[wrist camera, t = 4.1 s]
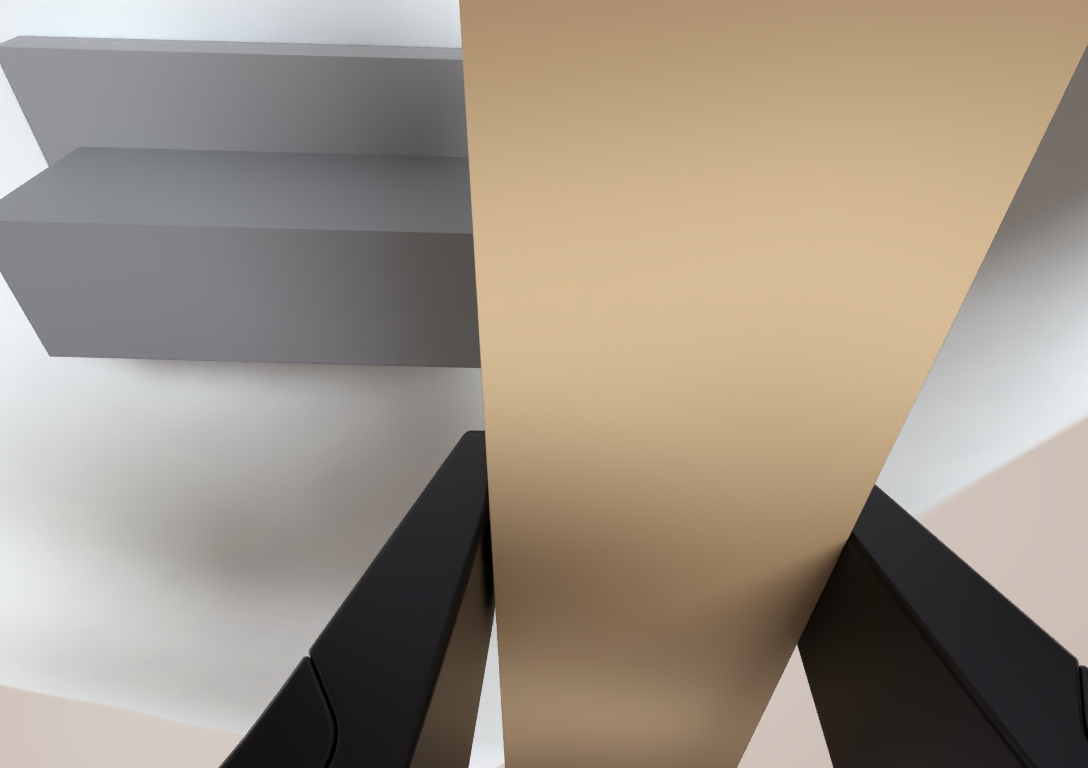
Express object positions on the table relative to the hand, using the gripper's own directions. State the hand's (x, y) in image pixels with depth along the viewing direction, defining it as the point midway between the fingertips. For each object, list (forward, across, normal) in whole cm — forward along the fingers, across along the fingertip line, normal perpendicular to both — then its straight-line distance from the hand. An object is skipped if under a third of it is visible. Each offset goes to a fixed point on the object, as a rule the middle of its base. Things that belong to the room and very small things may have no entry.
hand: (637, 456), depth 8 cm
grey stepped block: (+11, +7, +2) cm, 13 cm away
